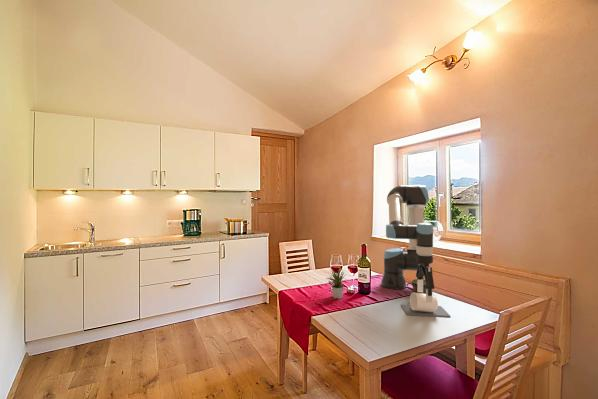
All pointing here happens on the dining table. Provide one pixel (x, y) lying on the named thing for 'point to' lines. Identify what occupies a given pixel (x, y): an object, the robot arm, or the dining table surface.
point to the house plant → (337, 284)
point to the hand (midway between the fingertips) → (424, 296)
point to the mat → (438, 313)
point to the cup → (423, 303)
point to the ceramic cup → (414, 284)
